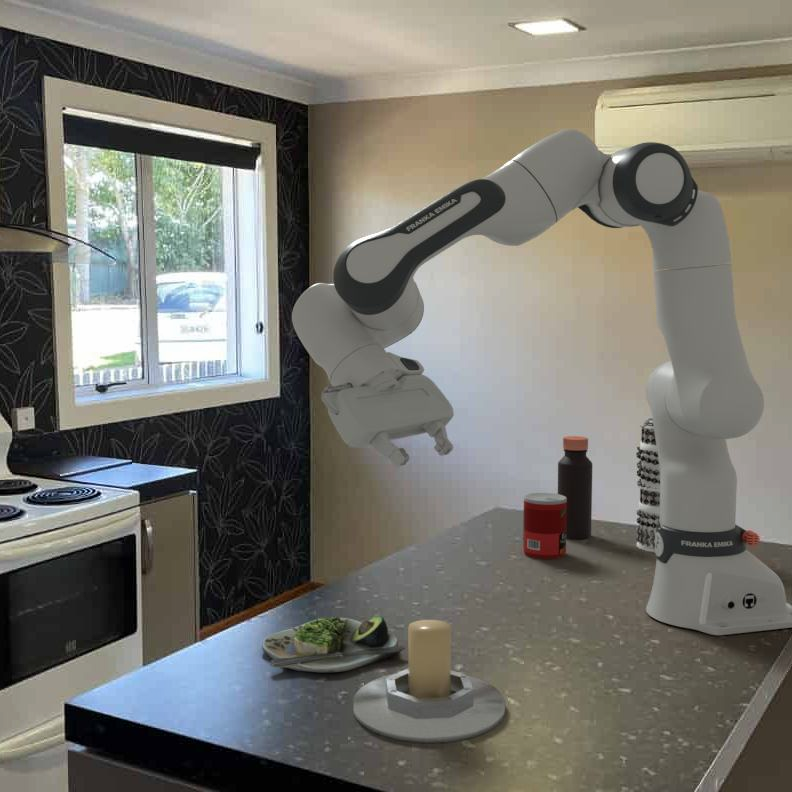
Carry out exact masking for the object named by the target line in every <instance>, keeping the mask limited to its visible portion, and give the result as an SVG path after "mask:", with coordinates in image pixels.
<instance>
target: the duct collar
mask: <svg viewBox="0 0 792 792" xmlns="http://www.w3.org/2000/svg"><path fill="white" fill-rule="evenodd" d="M505 700H506V699H505V697H504V695H503V694H502V692H500V690H499V689H498V688H497V687H495V686H493V685H492V684H491V683H488V682H487V681H484V680H482V679H480V678H477V677H475V676H474V677H473V676H471V675H467V674H464V673H461V672H458V671H455V670H453V669H452V670H451V696H449V697H440V698H416V697H413V696H411V695H409V667H407V668H405V669H403V670H401V671H398V672H397V673H392V674H388V675H384V676H381V677H378V678H376V679H373V680H371V681H369V682H367V683H366V684H365V685H362V687H360V688H359V689H358V690H357V692H356V693H355V695H354V697H353V714H354V716H355V718H356V720H357V721H358V723H360V724H361V725H362V726H363V727H364V728H366V729H368V730H369V731H371V732H374V733H376V734H378V735H380V736H384V737H387V738H391V739H393V740H399V741H405V742H410V743H412V742H413V743H422V744H423V743H426V744H427V743H428V744H431V743H434V744H435V743H437V744H440V743H450V742H451V743H452V742H457V741H458V742H459V741H464V740H469V739H471V738H476V737H478V736H481V735H483V734H486V733H488V732H490V731H491V730H493V729H494V728H496V727H497V726H498V725H499V724H500V723H501V722H502V721H503V719H504V718H505V713H506V712H505V711H506V708H505V707H506V701H505Z"/></svg>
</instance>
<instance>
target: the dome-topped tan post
mask: <svg viewBox="0 0 792 792" xmlns="http://www.w3.org/2000/svg"><path fill="white" fill-rule="evenodd" d="M407 629H408V632H407V633H408V634H407V635H408V642H407V643H408V644H407V645H408V647H407V648H408V649H407V650H408V651H407V652H408V654H407V656H408V662H407V663H408V665H407V666H408V668H409V695H411V696H413V697H416V698H440V697H449V696H451V667H452V665H451V658H452V657H451V654H452V653H451V652H452V651H451V650H452V649H451V647H452V646H451V645H452V644H451V642H452V638H451V637H452V636H451V635H452V633H451V631H452V627H451V625H450V624H449V623H448V622H446V621H443V620H438V619H420V620H417V621H412V622H411V623H409V625H408V628H407Z"/></svg>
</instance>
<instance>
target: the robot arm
mask: <svg viewBox="0 0 792 792" xmlns="http://www.w3.org/2000/svg"><path fill="white" fill-rule="evenodd" d="M698 189H699V187H698V185H697V183H696V180H694V178H693V176H692V173H691V169H690V168H689V165H688V163H687V162H686V160H685V158H684V157H683V156H682V154H681V153H680V152H679V151H678V150H677V149H675V147H672V146H670V145H669V144H665V143H662V142H653V141H651V142H650V141H647V142H641V143H638V144H636V145H632V146H628V147H625V148H622V149H619V150H617V151H615V152H613V153H612V154H608V153H607V154H606V153H604V152H603V151H601V150H600V149H599V147H598V146H597V145H596V143H595V142H594V141H593V140H592V139H591V138H590V137H589V136H588V135H587V134H586V133H583V132H582V131H580V130H577V129H573V128H566V129H561V130H559V131H556V132H555V133H553V134H550V135H548V136H547V137H544V138H543V139H541V140H539V141H537V142H536V143H534V144H532V145H531V146H529V147H527V148H525V149H524V150H523V151H521V152H519V153H518V154H517V155H516V156H514V157H513V158H511V159H510V160H509V161H507V162H506V163H504V164H503V165H502V166H501V167H499V168H498V169H496V170H494V171H493V172H491V173H490V174H488V175H486V176H484V177H482V178H479V179H475V180H472V181H469V182H466V183H463V184H462V185H459V186H458V187H457V188H454V189H453V190H451V191H450V192H447V194H444V195H443V196H441V197H440V198H438V199H436V200H434V201H433V202H431V203H430V204H428V205H427V206H425V207H423V208H422V209H420V210H419V211H417V212H415V213H413V214H412V215H410V216H409V217H407V218H405V219H403V220H402V221H401V222H399V223H397V224H396V225H393V226H392V227H390V228H388V229H385V230H383V231H380V232H377V233H373V234H370V235H367V236H364V237H361V238H358V239H357V240H354V241H353V242H351V243H350V244H349V245H347V247H346V248H344V249H343V250H342V252H341V254H340V255H339V256H338V258H337V259H336V261H335V265H334V268H333V277H332V278H333V279H332V280H333V283H325V282H318V283H314V284H313V285H311V286H310V287H308V288H307V289H306V290H304V291H303V292H302V293H301V294H300V296H299V297H298V298H297V300H296V302H295V304H294V306H293V309H292V313H291V322H292V326H293V329H294V331H295V333H296V334H297V337H298V339H299V340H300V343H301V344H302V345H303V347H304V348H305V350H306V351H307V353H308V355H309V356H310V357H311V359H312V360H313V361H314V362H315V364H317V366H318V367H321V368H322V369H323V371H324V372H325V373H326V375H327V378H328V381H329V382H330V384H331V385H328V386H326V387H324V388H323V390H322V392H321V401H322V403H323V404H324V405H325V407H326V409H327V411H328V412H327V413H328V415H329V418H330V419H331V422H332V424H333V426H334V427H335V429H336V431H337V432H338V434H339V437H341V440H343V442H344V443H345V444H346V445H348V446H349V447H351V448H352V449H356V448H357V449H358V448H362V447H367V446H372V447H373V449H374V450H375V451H376V452H378V453H379V454H381V455H383V456H384V457H386V458H388V459H389V460H390V461H391V463H392V464H393V466H394V467H401V466H405V465H406V464H407V463H408V462H409V460H410V455H409V454H408V453H407V451H406V450H405V448H404V447H398V445H395V443H393V442H392V441H394V440H399V439H403V438H409V437H412V436H414V437H415V436H418V435H423V434H428V436H429V437H431V438H433V439H434V442H435V445H434V446H433V449H434V450H435V451H436V452H437V454H438V455H439V456H443V457H444V456H446V455H449V454H450V453H451V452H452V451H453V450H454V445H453V443H452V442H451V441H450V440H449V438H448V434H447V428H446V426H447V425H448V424H449V423H450V421H451V420H452V419H453V417H454V414H455V413H454V408H453V406H452V404H451V403H450V401H449V400H448V398H447V397H446V395H445V394H444V393H443V392H442V390H441V389H440V388H439V387H438V385H437V384H436V383H435V382H434V381H433V380H432V379H431V378H430V377H428V376H426V375H423V373H424V371H425V368H424V366H423V365H422V363H420V361H418V360H416V359H412V358H407V357H403V356H400V355H398V354H395V353H392V352H389V351H386V348H388V347H390V346H392V345H394V344H397V343H398V342H399V341H401V340H403V339H405V338H406V337H408V336H410V334H412V333H413V332H415V331H416V329H417V328H418V326H420V323H421V322H422V319H423V317H424V313H425V306H424V305H425V304H424V300H423V297H422V295H421V292H420V288H419V287H418V284H417V283H416V281H415V279H414V277H415V274H416V273H417V271H418V269H420V268H421V267H422V265H424V264H425V263H427V262H429V261H430V260H432V259H433V258H435V257H436V256H438V255H439V254H440V255H441V254H442V252H444V251H446V250H448V249H449V248H451V247H452V246H454V245H455V244H457V243H459V242H460V241H462V240H464V239H466V238H468V237H472V236H484V237H486V238H488V240H490V241H492V242H494V243H496V244H499V245H503V246H509V247H513V246H515V247H517V246H521V245H523V244H525V243H528V242H530V241H532V240H533V239H535V238H537V237H538V236H540V235H542V234H543V233H544V232H546V231H547V230H548V229H550V228H552V227H553V226H554V225H555V224H556V223H558V222H559V221H560V220H561V219H563V218H564V217H565V216H566V215H567V214H569V213H570V212H572V211H573V210H576V209H579V210H581V211H582V212H583V213H584V214H585V215H587V217H589V218H590V219H591V220H592V221H593V222H595V223H597V224H598V225H600V226H603V227H606V228H610V229H622V228H633V227H639V226H640V227H641V228H642V229H643V230H644V231H645V233H646V235H647V236H648V238H649V239H648V240H649V242H650V246H651V249H652V269H653V281H654V282H653V283H654V297H655V311H656V312H655V313H656V322H657V326H658V328H659V330H660V331H661V333H662V336H663V338H664V342H665V344H666V345H665V346H666V347H667V350H668V355H669V358H670V360H669V361H665V362H664V363H662V364H660V365H658V366H657V367H656V368H655V369H654V370H653V371H652V372H651V373H650V375H649V377H648V378H647V381H646V385H645V398H646V402H647V404H648V406H649V408H650V412H651V418H653V425H654V433H655V439H656V445H657V451H658V457H659V466H660V514H659V520H658V521H657V523H656V533H655V552H654V553H655V558H656V563H655V572H654V577H653V582H652V588H651V591H650V593H649V599H648V602H647V604H646V607H645V611H646V613H647V614H648V615H649V616H650V617H652V618H653V619H655V620H657V621H659V622H662V623H665V624H668V625H671V626H676V627H680V628H685V629H691V630H695V631H699V632H703V633H705V634H708V635H713V636H725V635H735V634H742V633H743V634H744V633H745V634H746V633H754V632H762V631H771V630H779V629H788V628H792V605H791V604H790V603H788V602H787V597H786V591H785V586H784V583H783V582H782V579H781V578H780V577H779V576H778V574H777V573H776V572H774V571H773V569H771V568H770V567H768V566H767V565H766V564H765V563H764V562H763V561H761V560H760V559H759V558H758V557H756V556H755V555H754V554H752V553H751V552H750V551H748V549H747V547H746V546H747V545H748V546H750V547H756V546H758V545H759V544H760V541H761V536H760V535H759V534H758V533H757V532H754V531H753V530H750V529H749V530H746V529H744V528H743V527H740V526H739V525H737V524H736V514H737V513H736V511H737V490H738V489H737V486H738V485H737V484H738V478H737V477H738V476H737V472H736V469H735V467H734V465H733V462H732V460H731V457H730V453H729V448H728V444H727V440H730V439H735V438H737V439H738V438H740V437H743V436H744V435H745V436H746V435H747V434H749V433H750V432H751V431H752V430H754V429H755V428H756V426H757V425H758V424H759V422H760V420H761V418H762V417H763V412H764V410H765V409H764V408H765V398H764V393H763V390H762V388H761V387H760V384H758V382H757V380H756V379H755V377H754V376H753V374H752V372H751V368H750V366H749V361H748V357H747V355H746V351H745V348H744V344H743V341H742V338H741V334H740V330H739V326H738V322H737V316H736V307H735V297H734V296H735V295H734V282H733V281H734V280H733V279H734V278H733V267H732V266H733V265H732V256H731V254H732V253H731V244H730V239H729V233H728V228H727V223H726V218H725V214H724V212H723V208H722V204H721V202H720V201H719V200H718V198H717V197H716V196H714V195H713V194H712V193H709V192H707V191H703V190H698Z"/></svg>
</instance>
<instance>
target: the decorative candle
mask: <svg viewBox="0 0 792 792" xmlns="http://www.w3.org/2000/svg"><path fill="white" fill-rule="evenodd" d="M644 421H645V422H644V423H643V424H642V425H640V426H639V427H640V428H641V439H640V443H639V444H640V445H639V446H638V447H637V446H636V448H637V449H636V450H637V451H636V453H635V454H636V458H637V459H639V460H638V462H636V467H637V470H636V476H637V477H639V479H638V480H637V481H636V484H637V488H638V489H639V500H638V510H636V515H637V516H638V517H637V519H636V523H637V524H638V526H636V528H635V530H636V533H637V534H636V536H635V539H636V541H637V542H636V548H637V547H638V549H640V550H641V549H642V551H644V550H645V552H650V553H655V533H656V523H657V521H658V520H659V514H660V466H659V457H658V451H657V445H656V439H655V433H654V425H653V418H652V417H649V418H647V419H646V420H644Z"/></svg>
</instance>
